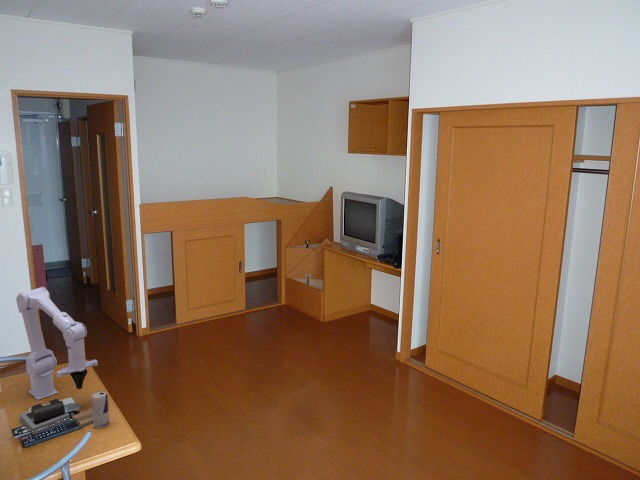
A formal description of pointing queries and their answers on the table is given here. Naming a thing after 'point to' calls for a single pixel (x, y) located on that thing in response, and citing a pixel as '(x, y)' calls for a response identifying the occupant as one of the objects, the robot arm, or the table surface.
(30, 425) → the corral stand
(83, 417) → the walnut stand
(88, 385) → the table surface
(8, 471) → the table surface
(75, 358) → the robot arm
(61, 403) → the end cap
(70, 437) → the table surface
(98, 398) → the energy drink
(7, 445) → the table surface
